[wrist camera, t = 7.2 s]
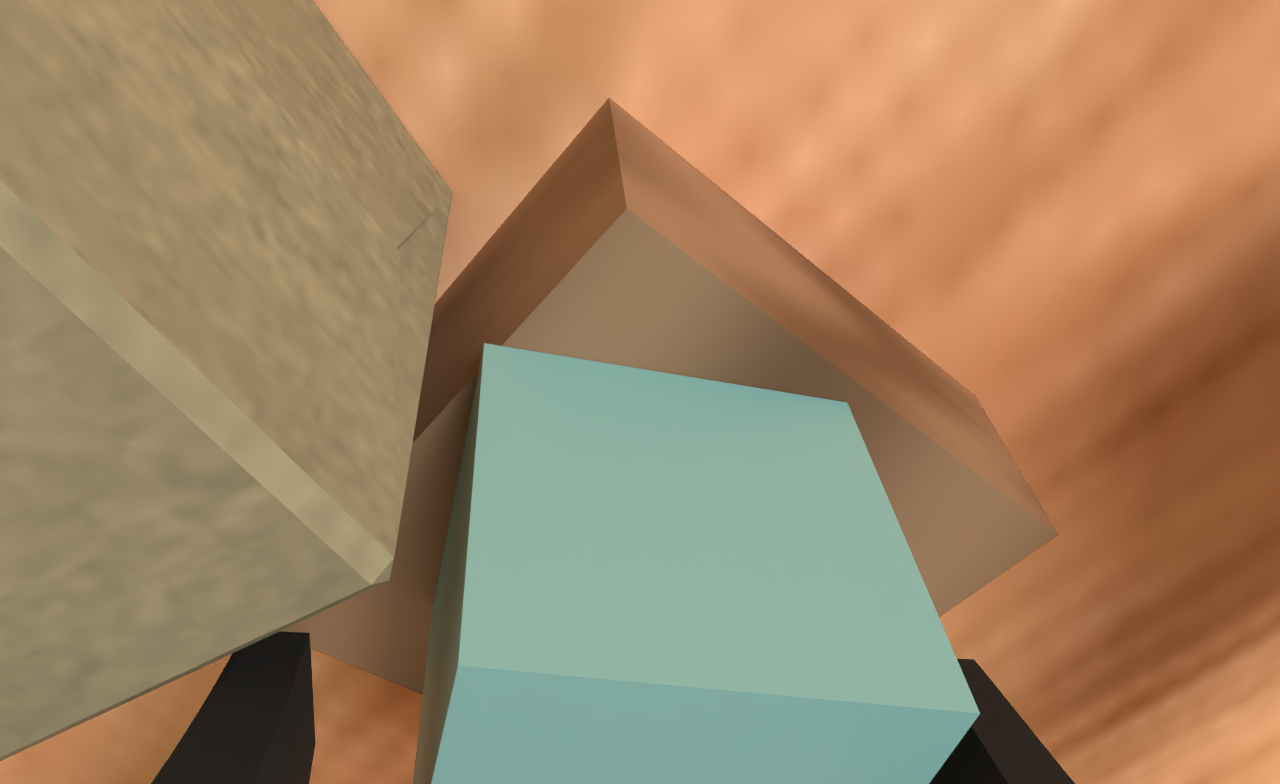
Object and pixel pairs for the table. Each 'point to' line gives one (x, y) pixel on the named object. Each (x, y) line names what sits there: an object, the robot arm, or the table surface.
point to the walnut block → (683, 369)
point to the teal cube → (676, 592)
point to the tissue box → (195, 339)
